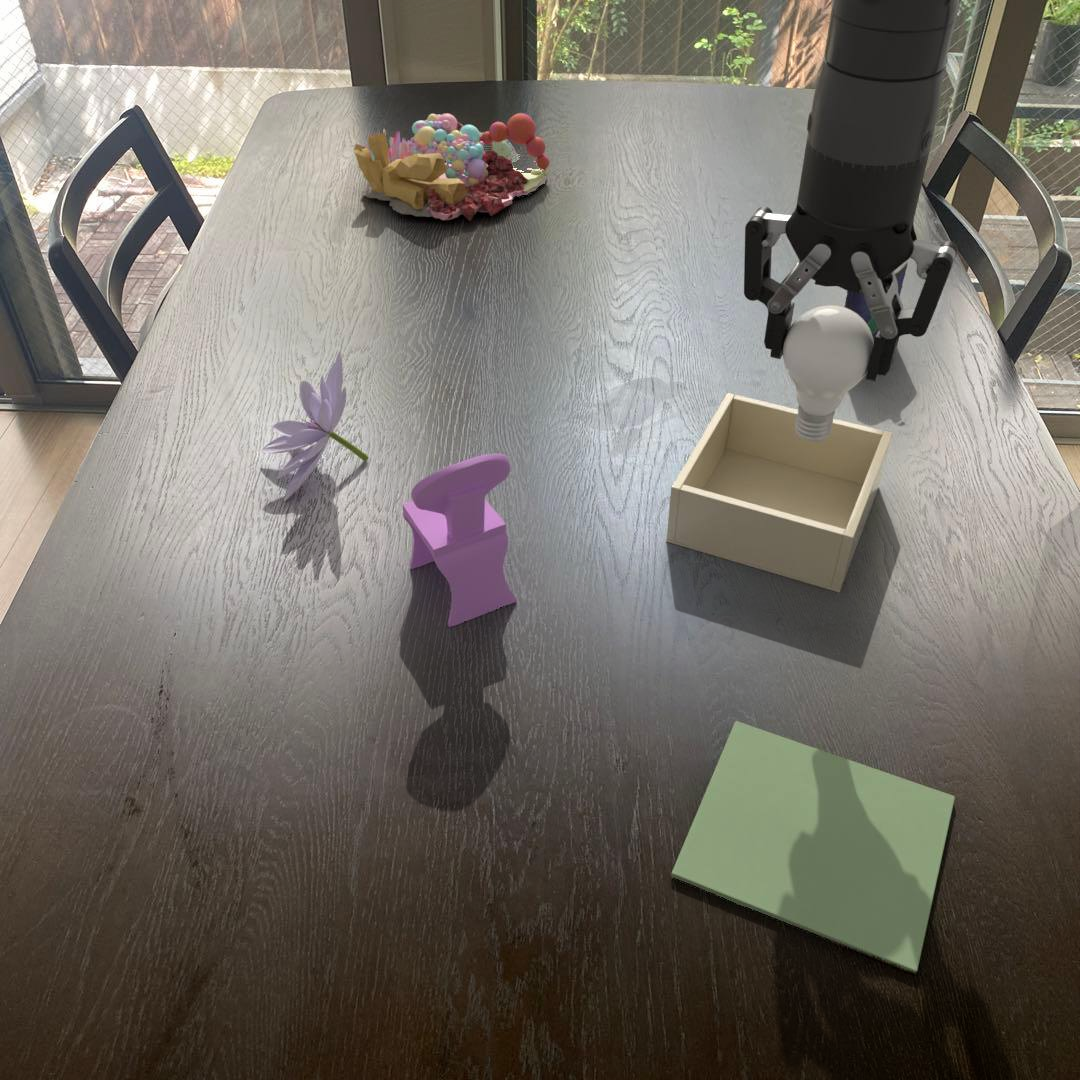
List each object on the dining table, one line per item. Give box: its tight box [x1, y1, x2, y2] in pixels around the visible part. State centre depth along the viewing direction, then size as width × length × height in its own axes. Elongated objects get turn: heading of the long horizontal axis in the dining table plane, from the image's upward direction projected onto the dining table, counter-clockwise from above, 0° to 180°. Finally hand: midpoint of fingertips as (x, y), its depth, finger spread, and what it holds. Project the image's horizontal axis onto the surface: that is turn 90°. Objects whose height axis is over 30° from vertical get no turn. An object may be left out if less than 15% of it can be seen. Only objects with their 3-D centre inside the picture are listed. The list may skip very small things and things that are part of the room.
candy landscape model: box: [352, 112, 550, 222], centre depth 149 cm, size 25×24×9 cm
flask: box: [844, 260, 908, 341], centre depth 117 cm, size 9×3×11 cm, turn 133°
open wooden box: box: [665, 392, 894, 593], centre depth 97 cm, size 16×16×6 cm
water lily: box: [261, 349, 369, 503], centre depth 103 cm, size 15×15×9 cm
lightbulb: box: [782, 304, 874, 441], centre depth 79 cm, size 6×6×11 cm
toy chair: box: [401, 453, 518, 628], centre depth 88 cm, size 8×9×15 cm
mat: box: [670, 720, 956, 972], centre depth 74 cm, size 16×14×1 cm
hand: (825, 363), depth 78 cm, fingers closed on lightbulb, 6 cm apart
